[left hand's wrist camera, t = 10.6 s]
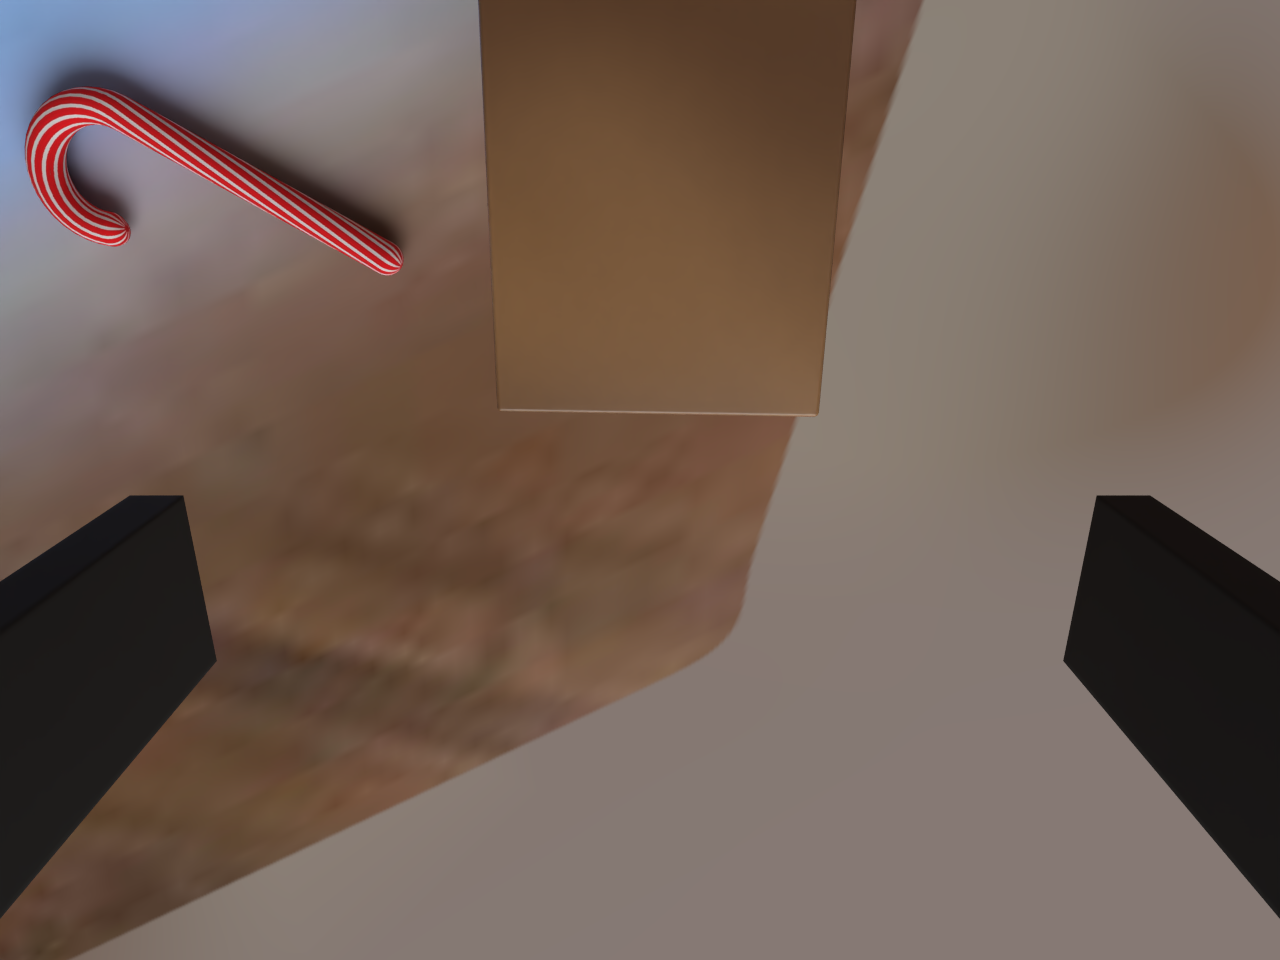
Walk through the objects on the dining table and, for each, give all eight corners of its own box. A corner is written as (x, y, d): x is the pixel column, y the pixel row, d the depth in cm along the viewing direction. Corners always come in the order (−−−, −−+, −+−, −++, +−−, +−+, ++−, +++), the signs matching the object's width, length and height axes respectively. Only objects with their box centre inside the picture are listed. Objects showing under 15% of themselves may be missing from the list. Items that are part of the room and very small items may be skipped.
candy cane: (360, 370, 38) (349, 378, 37) (23, 199, 35) (-2, 201, 34) (414, 247, 36) (404, 251, 35) (62, 57, 34) (37, 53, 32)
